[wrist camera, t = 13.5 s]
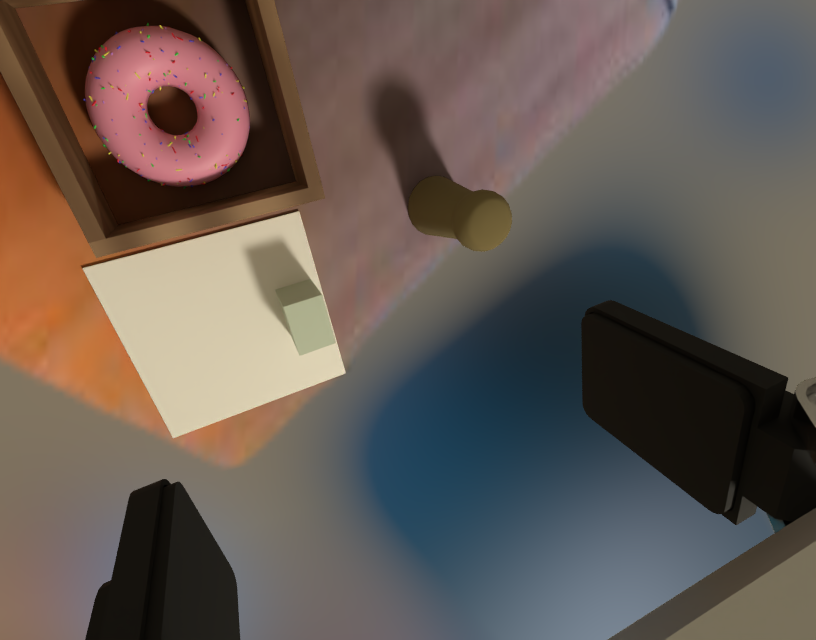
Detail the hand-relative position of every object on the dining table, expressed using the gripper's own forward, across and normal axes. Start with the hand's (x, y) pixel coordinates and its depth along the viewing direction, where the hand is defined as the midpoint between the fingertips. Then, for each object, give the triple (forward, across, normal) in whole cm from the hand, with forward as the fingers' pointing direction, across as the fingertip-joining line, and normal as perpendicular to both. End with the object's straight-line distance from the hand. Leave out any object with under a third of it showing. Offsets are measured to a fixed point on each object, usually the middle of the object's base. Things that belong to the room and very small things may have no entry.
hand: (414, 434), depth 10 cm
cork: (+36, -16, +5) cm, 40 cm away
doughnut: (+36, +4, -8) cm, 37 cm away
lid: (+36, +6, +11) cm, 38 cm away
